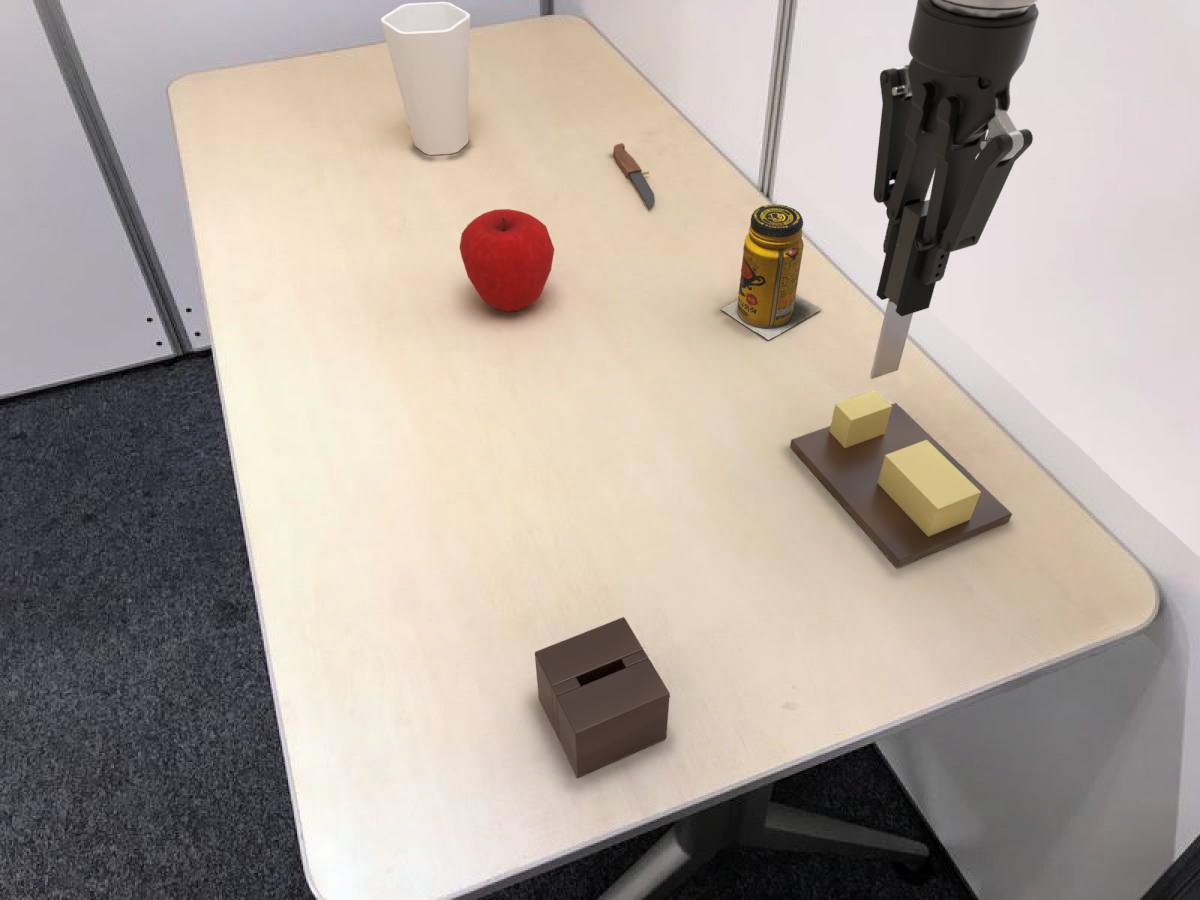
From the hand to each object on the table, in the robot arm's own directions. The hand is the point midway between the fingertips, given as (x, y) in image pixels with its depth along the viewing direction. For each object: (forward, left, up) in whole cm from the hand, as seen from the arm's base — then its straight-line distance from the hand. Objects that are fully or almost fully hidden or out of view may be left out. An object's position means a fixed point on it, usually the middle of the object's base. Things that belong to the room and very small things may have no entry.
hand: (902, 301), depth 78 cm
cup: (+75, +16, -17) cm, 79 cm away
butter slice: (+2, 0, -16) cm, 16 cm away
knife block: (-15, +34, -17) cm, 41 cm away
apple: (+36, +21, -17) cm, 45 cm away
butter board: (-5, 0, -17) cm, 18 cm away
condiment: (+22, -4, -17) cm, 28 cm away
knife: (+54, -4, -17) cm, 57 cm away
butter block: (-8, 0, -16) cm, 18 cm away
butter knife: (0, 0, -8) cm, 8 cm away
